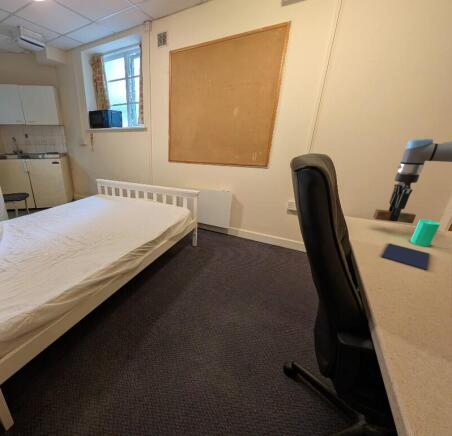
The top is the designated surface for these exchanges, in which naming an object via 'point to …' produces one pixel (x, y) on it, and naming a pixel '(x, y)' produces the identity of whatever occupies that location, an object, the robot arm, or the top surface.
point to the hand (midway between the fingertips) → (391, 219)
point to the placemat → (406, 256)
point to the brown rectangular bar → (386, 215)
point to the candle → (425, 232)
